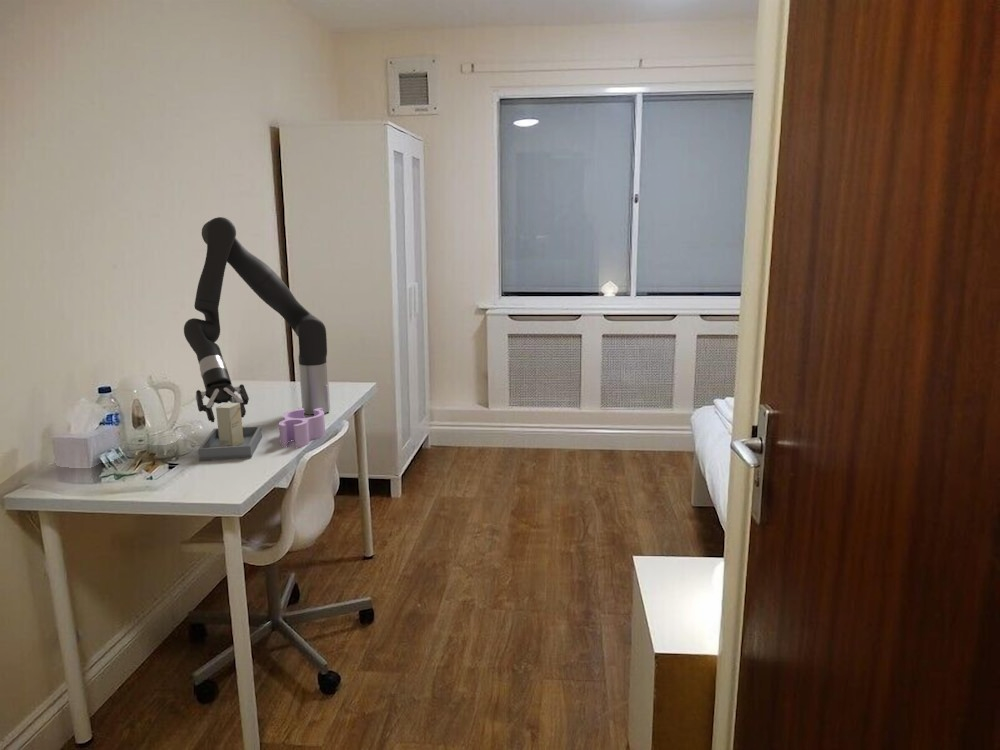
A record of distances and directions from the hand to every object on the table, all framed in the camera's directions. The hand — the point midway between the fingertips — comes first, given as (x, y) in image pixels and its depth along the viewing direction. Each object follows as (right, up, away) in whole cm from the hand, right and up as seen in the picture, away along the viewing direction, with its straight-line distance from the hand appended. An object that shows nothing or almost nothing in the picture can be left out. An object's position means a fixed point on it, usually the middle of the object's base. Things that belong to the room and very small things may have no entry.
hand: (228, 418), depth 213 cm
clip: (+19, -7, +10) cm, 23 cm away
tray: (+1, -9, 0) cm, 9 cm away
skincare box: (+1, -8, 0) cm, 8 cm away
